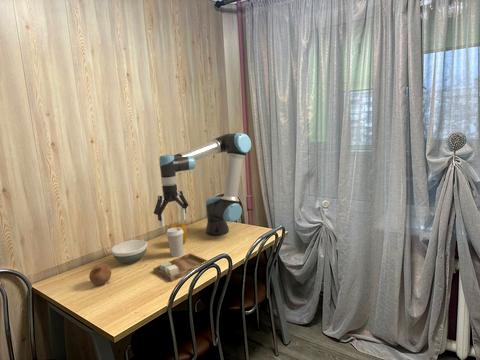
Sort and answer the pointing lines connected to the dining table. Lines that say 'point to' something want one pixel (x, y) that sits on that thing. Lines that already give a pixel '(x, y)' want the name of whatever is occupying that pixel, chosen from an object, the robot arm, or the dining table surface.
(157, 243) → the dining table surface
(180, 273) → the tray
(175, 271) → the cream block
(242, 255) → the dining table surface
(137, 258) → the bowl
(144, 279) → the dining table surface
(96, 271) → the onion
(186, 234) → the amber vase
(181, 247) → the coffee cup
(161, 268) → the sage block
